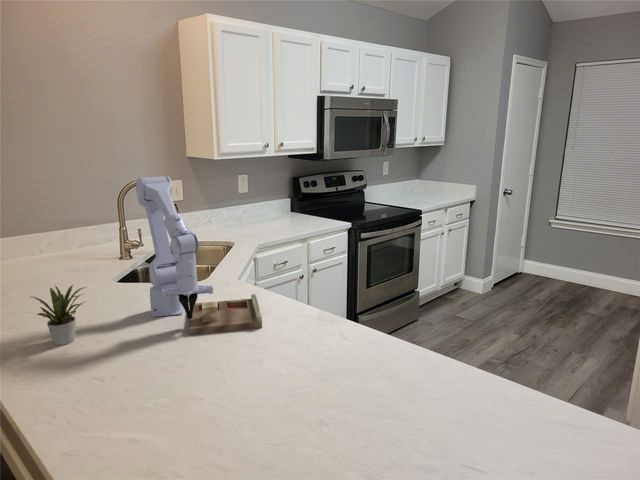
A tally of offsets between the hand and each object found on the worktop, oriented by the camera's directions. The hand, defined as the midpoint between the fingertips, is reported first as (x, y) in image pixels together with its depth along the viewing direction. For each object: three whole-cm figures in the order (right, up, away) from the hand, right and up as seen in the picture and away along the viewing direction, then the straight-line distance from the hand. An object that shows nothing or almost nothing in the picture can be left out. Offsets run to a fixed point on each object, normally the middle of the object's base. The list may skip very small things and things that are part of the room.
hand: (189, 317), depth 137 cm
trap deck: (+9, -1, +7) cm, 12 cm away
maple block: (+6, -1, +2) cm, 6 cm away
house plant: (-32, -5, -8) cm, 33 cm away
